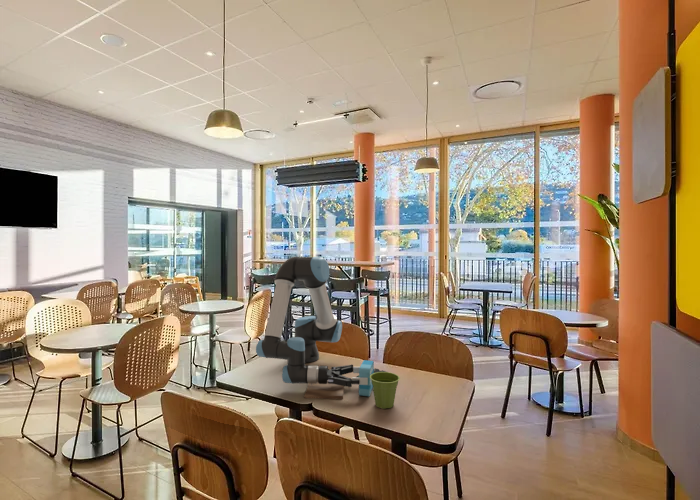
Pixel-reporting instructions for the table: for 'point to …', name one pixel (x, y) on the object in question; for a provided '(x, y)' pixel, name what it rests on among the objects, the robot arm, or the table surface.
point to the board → (324, 391)
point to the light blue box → (365, 372)
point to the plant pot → (384, 388)
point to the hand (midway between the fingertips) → (367, 375)
